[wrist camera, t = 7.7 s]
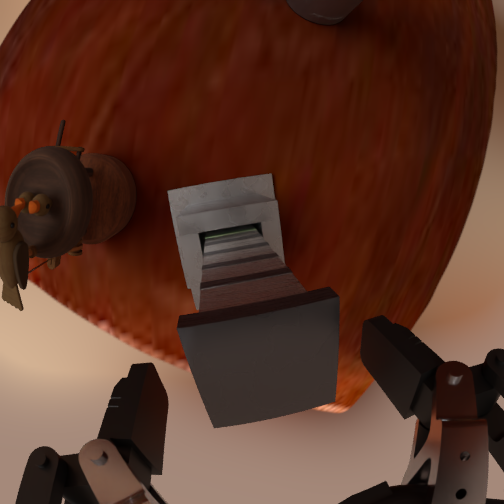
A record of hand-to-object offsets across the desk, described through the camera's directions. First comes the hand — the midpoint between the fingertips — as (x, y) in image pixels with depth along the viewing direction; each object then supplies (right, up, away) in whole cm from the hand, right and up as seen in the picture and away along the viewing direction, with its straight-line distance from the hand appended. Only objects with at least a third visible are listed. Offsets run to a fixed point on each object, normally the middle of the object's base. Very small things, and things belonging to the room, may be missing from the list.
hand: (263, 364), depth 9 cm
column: (-2, +5, +17) cm, 18 cm away
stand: (-3, +7, +23) cm, 24 cm away
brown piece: (-19, +12, +19) cm, 30 cm away
